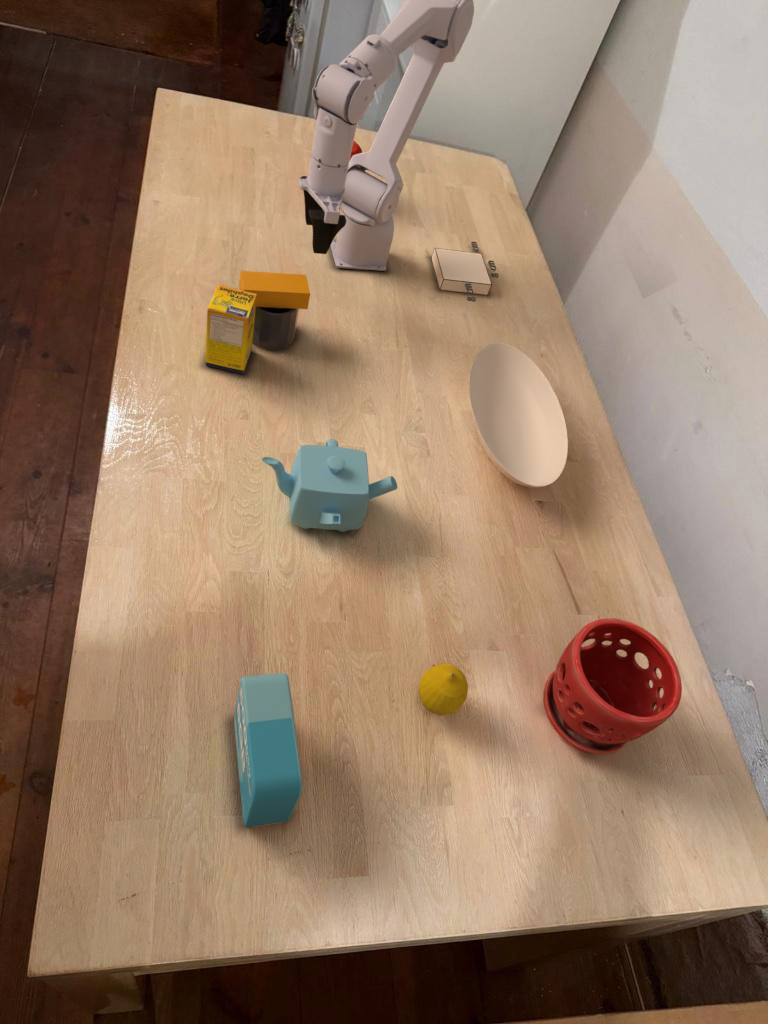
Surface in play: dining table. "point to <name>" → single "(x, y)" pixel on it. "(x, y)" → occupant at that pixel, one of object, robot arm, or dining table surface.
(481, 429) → the bowl
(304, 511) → the teapot
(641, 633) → the flower pot
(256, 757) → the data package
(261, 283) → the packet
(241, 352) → the supplement box
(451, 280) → the container
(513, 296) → the dining table surface
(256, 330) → the cup
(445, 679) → the fruit
